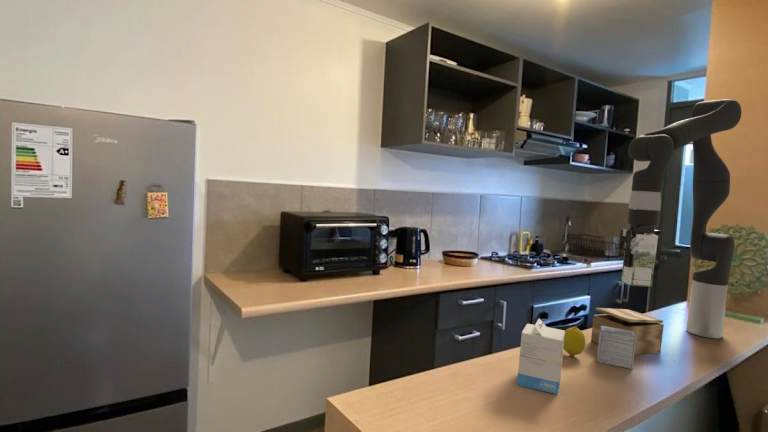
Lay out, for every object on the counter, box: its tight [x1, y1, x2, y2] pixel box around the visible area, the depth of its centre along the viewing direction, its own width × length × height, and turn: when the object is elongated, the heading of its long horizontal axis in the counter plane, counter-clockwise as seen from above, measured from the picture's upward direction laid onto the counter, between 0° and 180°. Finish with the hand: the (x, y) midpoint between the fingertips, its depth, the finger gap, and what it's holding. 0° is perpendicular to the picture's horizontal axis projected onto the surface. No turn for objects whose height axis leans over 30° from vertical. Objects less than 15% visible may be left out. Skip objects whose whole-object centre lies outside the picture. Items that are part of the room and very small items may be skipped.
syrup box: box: [620, 234, 658, 288], centre depth 117 cm, size 6×6×14 cm
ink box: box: [517, 318, 566, 395], centre depth 92 cm, size 9×8×13 cm
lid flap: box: [595, 307, 664, 324], centre depth 119 cm, size 14×11×1 cm
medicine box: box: [596, 326, 636, 370], centre depth 107 cm, size 8×4×9 cm, turn 65°
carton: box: [590, 313, 665, 357], centre depth 119 cm, size 14×11×8 cm
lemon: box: [563, 326, 586, 357], centre depth 109 cm, size 6×6×8 cm
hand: (638, 266), depth 117 cm, fingers closed on syrup box, 7 cm apart
